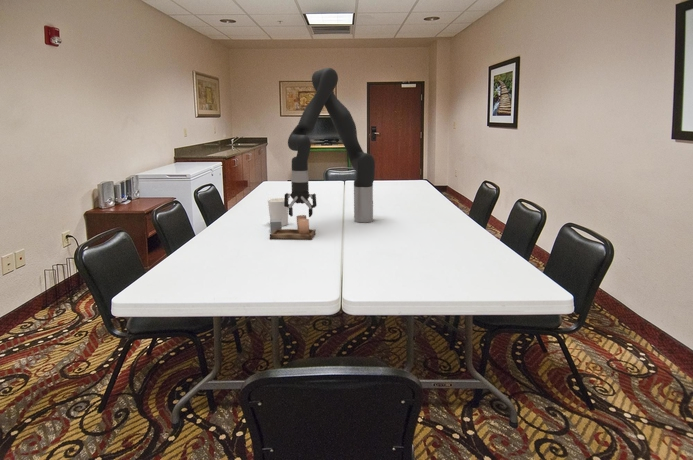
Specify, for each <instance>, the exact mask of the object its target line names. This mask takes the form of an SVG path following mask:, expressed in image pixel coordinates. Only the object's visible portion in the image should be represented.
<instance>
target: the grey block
mask: <svg viewBox="0 0 693 460" xmlns="http://www.w3.org/2000/svg"><path fill="white" fill-rule="evenodd" d="M269 226H270V227H269V229H270V230H269V231H270V234H271V233H272V232H273V231H274V230H275V229H283V228H282V227H283V226H281V219H276V220H270V219H269Z"/></svg>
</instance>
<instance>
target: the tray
mask: <svg viewBox="0 0 693 460" xmlns="http://www.w3.org/2000/svg"><path fill="white" fill-rule="evenodd" d="M316 234H317V233H316V229H309V235H299V229H297V228H294V229H293V228H282V229H275V230H274V231H273V232H272V233H271V232H270V234H269V240H291V241H292V240H295V241H296V240H297V241H298V240H299V241H301V240H302V241H303V240H304V241H305V240H306V241H312V240H313V239H314V237H315V235H316Z"/></svg>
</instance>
